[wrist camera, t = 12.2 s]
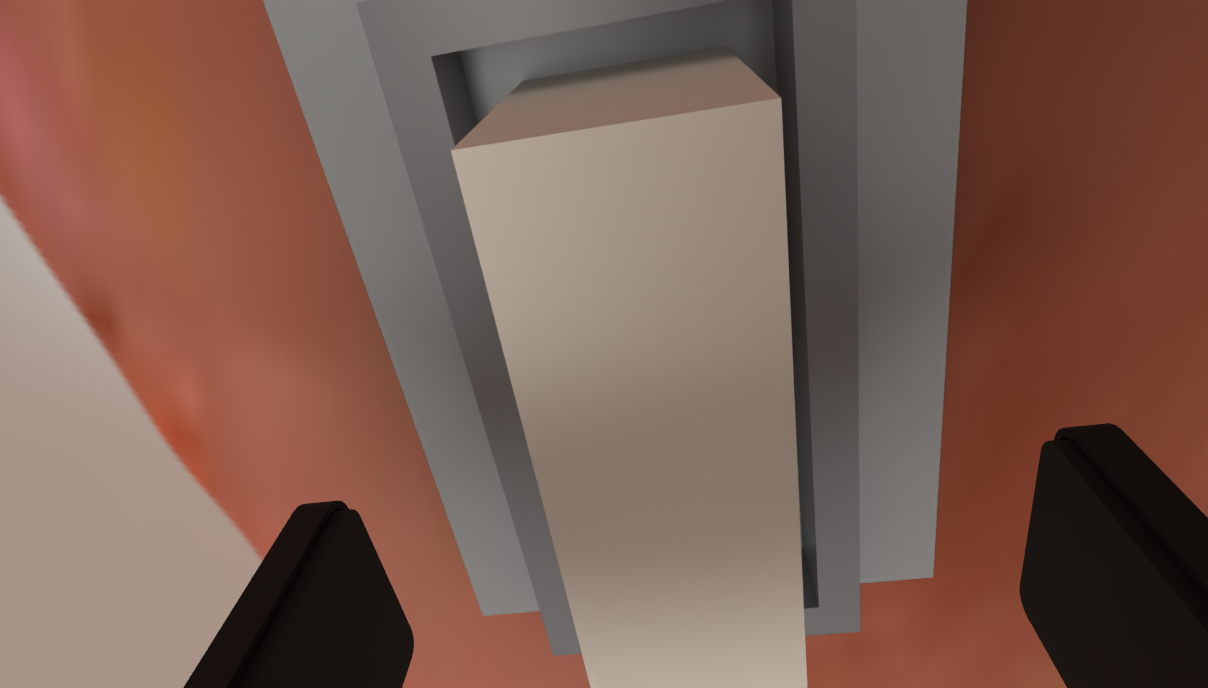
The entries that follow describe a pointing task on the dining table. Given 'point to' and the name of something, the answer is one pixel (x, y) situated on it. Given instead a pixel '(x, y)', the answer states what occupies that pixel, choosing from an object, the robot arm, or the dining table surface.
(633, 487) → the long beige rectangular prism
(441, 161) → the cradle
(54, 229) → the dining table surface
